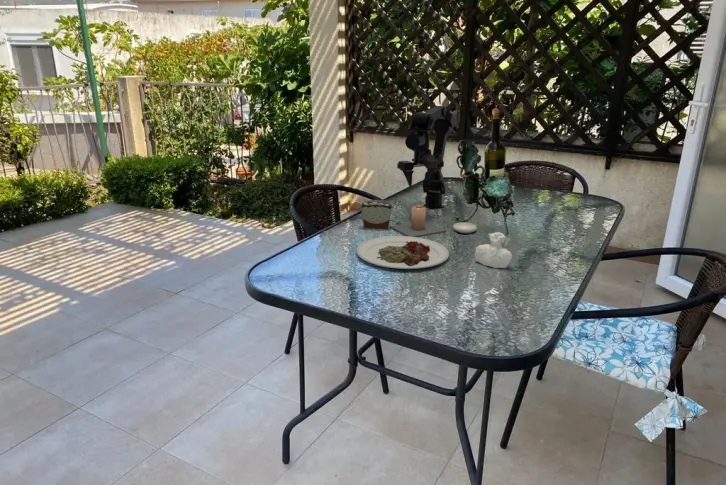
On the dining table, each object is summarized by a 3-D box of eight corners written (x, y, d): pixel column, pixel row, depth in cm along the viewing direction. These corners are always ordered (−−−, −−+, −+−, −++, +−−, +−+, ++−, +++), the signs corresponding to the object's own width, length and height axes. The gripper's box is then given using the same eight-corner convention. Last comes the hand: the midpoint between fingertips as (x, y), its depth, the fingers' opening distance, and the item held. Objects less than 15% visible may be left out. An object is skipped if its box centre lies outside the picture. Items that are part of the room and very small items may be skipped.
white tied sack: (510, 275, 164) (522, 242, 166) (504, 266, 158) (516, 233, 160) (475, 266, 171) (487, 234, 173) (467, 257, 165) (480, 225, 167)
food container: (393, 225, 204) (394, 200, 201) (392, 230, 198) (393, 204, 195) (361, 224, 205) (361, 198, 202) (359, 228, 199) (360, 203, 196)
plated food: (341, 264, 165) (341, 254, 164) (375, 236, 192) (375, 227, 191) (435, 279, 155) (436, 269, 154) (457, 247, 181) (458, 238, 180)
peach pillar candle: (423, 226, 201) (425, 203, 198) (425, 230, 196) (426, 207, 194) (410, 226, 201) (411, 203, 198) (411, 230, 196) (412, 207, 194)
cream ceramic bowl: (466, 226, 204) (466, 221, 203) (480, 232, 197) (481, 227, 196) (448, 229, 200) (448, 224, 199) (462, 235, 193) (463, 230, 193)
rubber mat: (424, 222, 208) (424, 220, 208) (446, 231, 197) (446, 230, 197) (389, 227, 201) (389, 226, 201) (410, 238, 190) (410, 236, 189)
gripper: (413, 151, 195) (411, 192, 200) (453, 147, 203) (451, 187, 209) (397, 146, 204) (395, 186, 209) (436, 143, 213) (434, 181, 218)
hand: (419, 185), depth 211 cm, fingers open, 9 cm apart
